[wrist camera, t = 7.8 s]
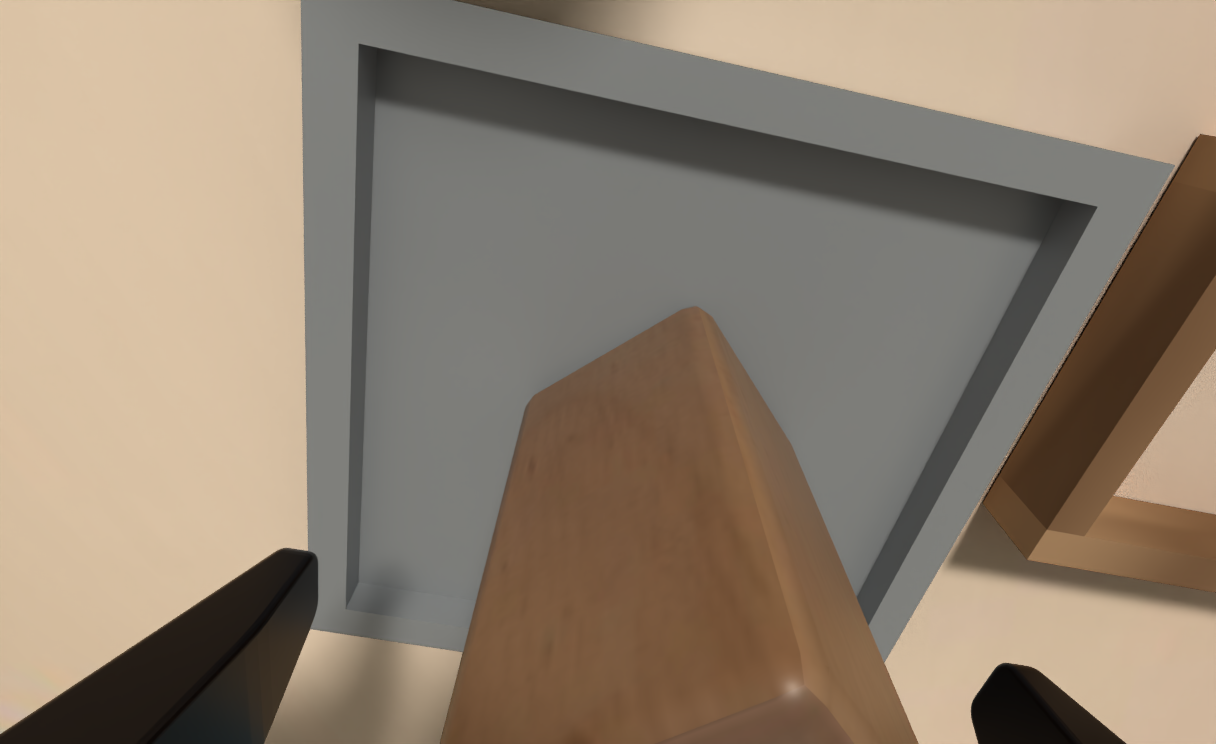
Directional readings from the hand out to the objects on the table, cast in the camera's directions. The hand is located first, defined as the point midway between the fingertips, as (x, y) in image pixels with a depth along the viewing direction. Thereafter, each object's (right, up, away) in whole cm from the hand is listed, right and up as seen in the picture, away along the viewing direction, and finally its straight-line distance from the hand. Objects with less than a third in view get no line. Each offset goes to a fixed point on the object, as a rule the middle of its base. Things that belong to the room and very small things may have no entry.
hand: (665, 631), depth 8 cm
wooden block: (0, +2, +5) cm, 5 cm away
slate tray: (0, +3, +5) cm, 6 cm away
